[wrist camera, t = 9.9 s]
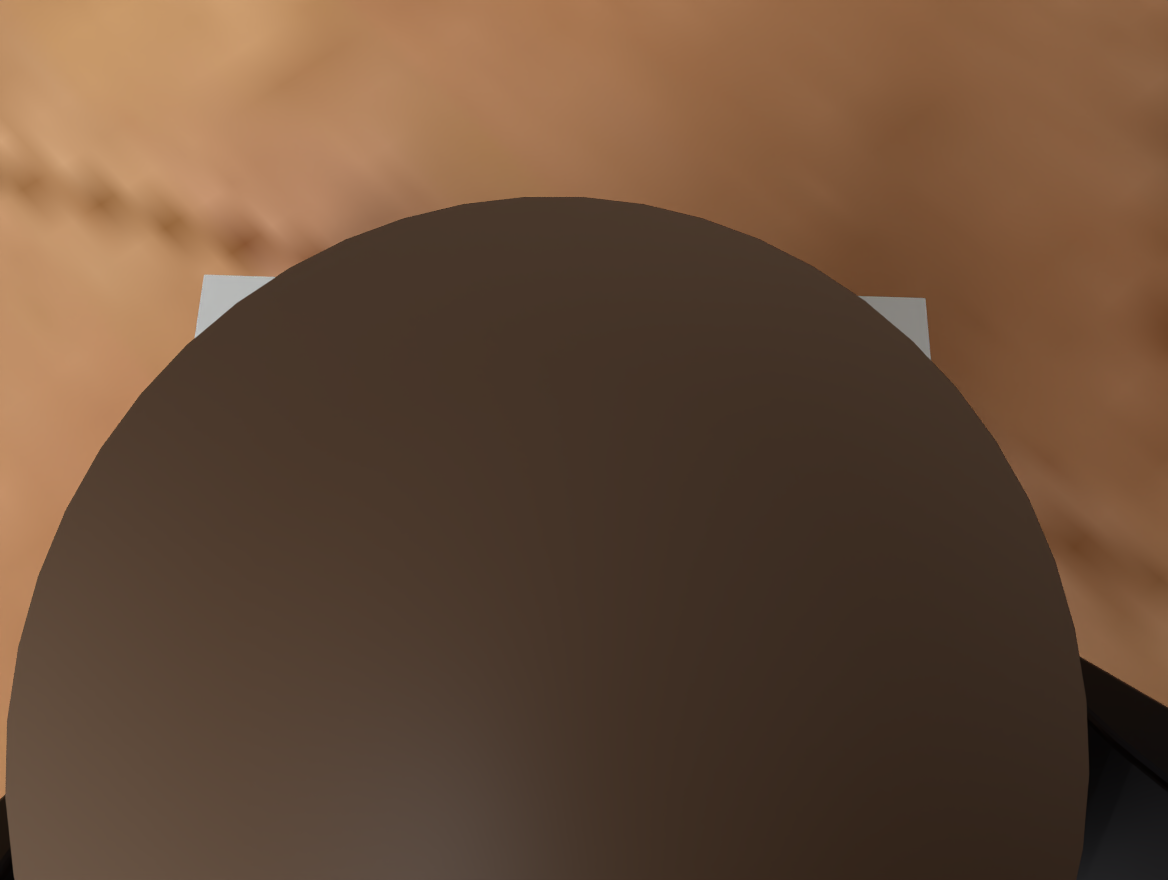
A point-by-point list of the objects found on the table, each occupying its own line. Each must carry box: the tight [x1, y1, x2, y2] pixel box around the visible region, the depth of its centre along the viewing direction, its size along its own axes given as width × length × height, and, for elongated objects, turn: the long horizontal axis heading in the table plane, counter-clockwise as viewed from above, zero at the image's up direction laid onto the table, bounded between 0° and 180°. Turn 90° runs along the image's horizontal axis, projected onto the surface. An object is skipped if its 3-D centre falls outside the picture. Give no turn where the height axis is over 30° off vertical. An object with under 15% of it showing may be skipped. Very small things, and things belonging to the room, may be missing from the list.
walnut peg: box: [5, 197, 1089, 880], centre depth 9 cm, size 4×4×13 cm
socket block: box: [195, 275, 931, 360], centre depth 14 cm, size 12×12×4 cm
